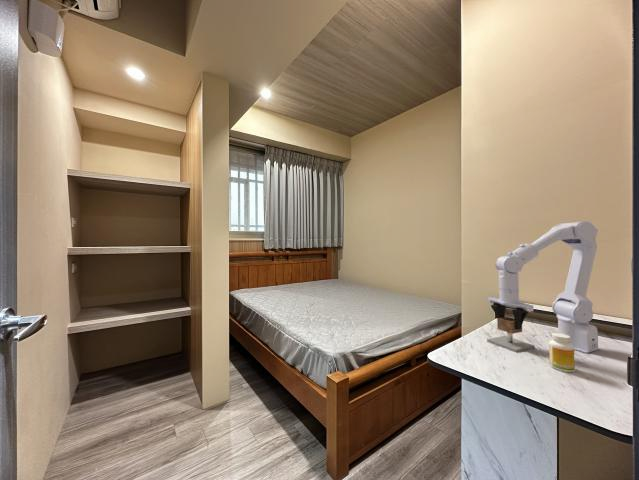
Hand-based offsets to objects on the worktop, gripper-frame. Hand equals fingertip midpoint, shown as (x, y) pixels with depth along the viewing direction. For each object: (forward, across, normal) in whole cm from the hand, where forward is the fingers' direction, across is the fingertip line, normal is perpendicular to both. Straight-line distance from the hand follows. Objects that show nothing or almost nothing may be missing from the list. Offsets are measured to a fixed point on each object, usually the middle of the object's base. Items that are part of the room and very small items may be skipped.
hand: (509, 326), depth 92 cm
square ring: (+1, 0, 0) cm, 1 cm away
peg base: (+6, 0, 0) cm, 6 cm away
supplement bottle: (+7, +17, -4) cm, 19 cm away
